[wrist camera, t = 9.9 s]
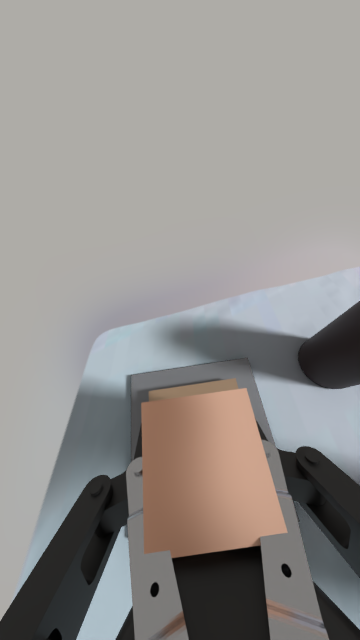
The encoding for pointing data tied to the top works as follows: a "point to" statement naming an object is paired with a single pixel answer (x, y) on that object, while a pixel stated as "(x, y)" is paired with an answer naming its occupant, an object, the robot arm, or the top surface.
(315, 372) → the bottle
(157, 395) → the socket dock
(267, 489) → the terracotta post
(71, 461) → the top surface
